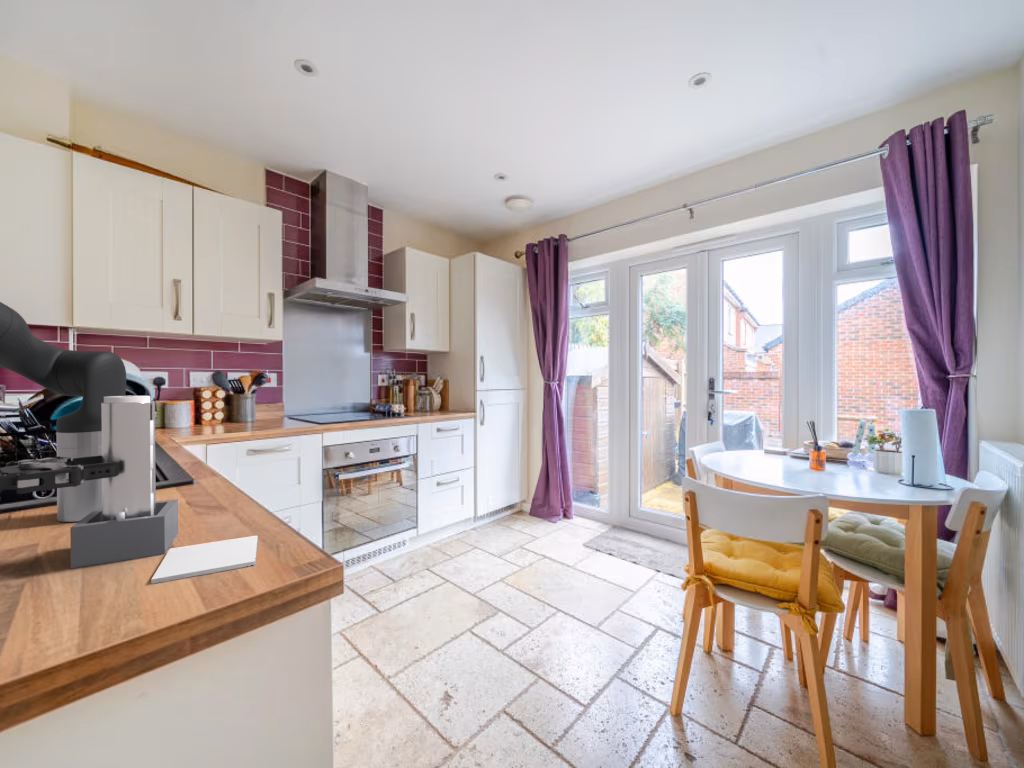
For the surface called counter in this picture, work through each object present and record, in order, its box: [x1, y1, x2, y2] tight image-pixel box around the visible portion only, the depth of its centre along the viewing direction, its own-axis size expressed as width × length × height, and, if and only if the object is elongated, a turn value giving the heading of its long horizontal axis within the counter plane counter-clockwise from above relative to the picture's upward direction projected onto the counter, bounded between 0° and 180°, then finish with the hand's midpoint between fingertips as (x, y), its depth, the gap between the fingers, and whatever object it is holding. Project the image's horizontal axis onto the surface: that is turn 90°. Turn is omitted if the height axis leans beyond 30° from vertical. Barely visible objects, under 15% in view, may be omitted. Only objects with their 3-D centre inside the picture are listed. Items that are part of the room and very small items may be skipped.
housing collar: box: [70, 498, 179, 569], centre depth 70 cm, size 11×11×7 cm
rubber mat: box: [150, 535, 259, 585], centre depth 66 cm, size 12×12×1 cm
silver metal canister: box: [101, 394, 157, 522], centre depth 69 cm, size 6×6×25 cm
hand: (111, 465), depth 68 cm, fingers open, 8 cm apart
